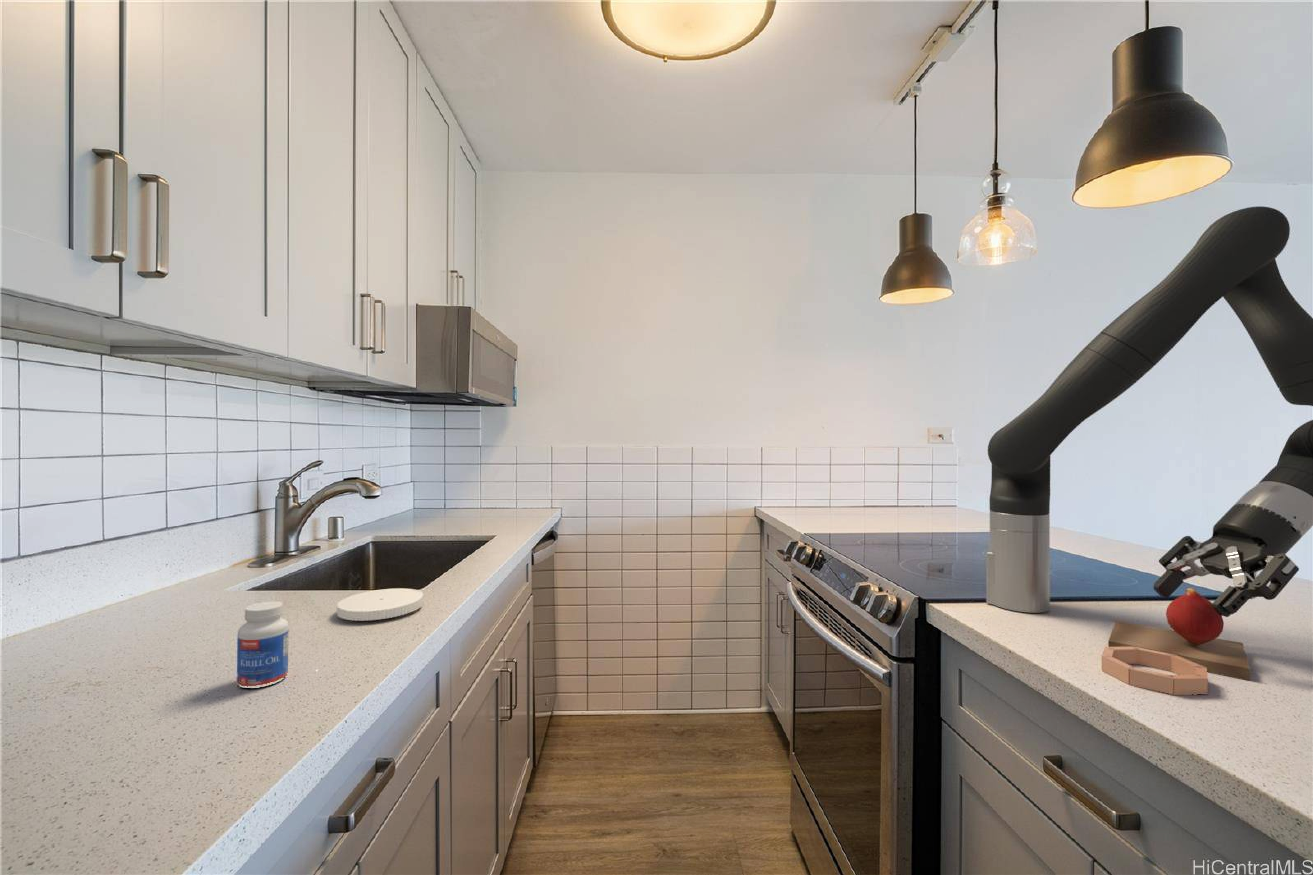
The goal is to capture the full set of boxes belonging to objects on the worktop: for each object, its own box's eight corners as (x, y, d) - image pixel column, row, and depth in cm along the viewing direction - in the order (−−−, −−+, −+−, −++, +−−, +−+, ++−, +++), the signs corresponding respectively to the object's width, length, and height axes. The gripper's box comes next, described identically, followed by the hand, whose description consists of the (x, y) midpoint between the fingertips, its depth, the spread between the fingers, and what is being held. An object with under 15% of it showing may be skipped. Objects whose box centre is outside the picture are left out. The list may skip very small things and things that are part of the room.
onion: (1208, 639, 80) (1206, 584, 80) (1235, 654, 74) (1233, 595, 74) (1158, 636, 82) (1156, 582, 82) (1181, 650, 76) (1179, 592, 76)
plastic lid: (415, 622, 94) (415, 608, 94) (324, 629, 91) (324, 614, 91) (429, 599, 108) (429, 586, 108) (350, 604, 104) (350, 591, 104)
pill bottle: (232, 694, 67) (232, 615, 67) (241, 677, 72) (241, 603, 72) (286, 685, 70) (285, 608, 70) (291, 669, 75) (290, 597, 75)
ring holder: (1099, 677, 71) (1099, 662, 71) (1106, 655, 78) (1107, 641, 78) (1208, 703, 64) (1208, 686, 64) (1205, 676, 72) (1206, 660, 72)
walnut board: (1108, 651, 80) (1108, 640, 80) (1115, 629, 89) (1115, 620, 89) (1249, 680, 70) (1249, 668, 70) (1242, 653, 79) (1242, 643, 79)
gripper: (1197, 496, 85) (1125, 571, 85) (1308, 509, 71) (1221, 598, 71) (1231, 530, 85) (1158, 605, 85) (1348, 549, 71) (1262, 639, 71)
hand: (1187, 602), depth 78 cm, fingers open, 8 cm apart
